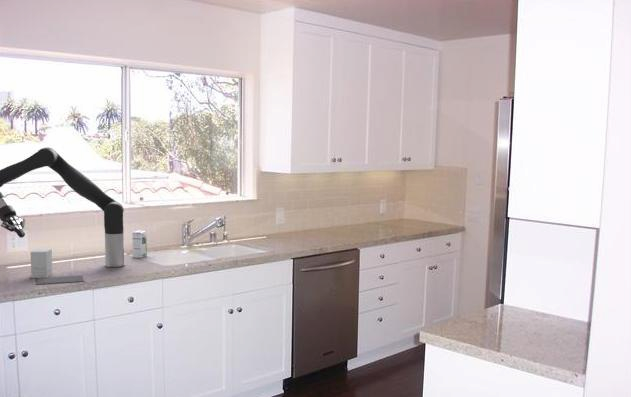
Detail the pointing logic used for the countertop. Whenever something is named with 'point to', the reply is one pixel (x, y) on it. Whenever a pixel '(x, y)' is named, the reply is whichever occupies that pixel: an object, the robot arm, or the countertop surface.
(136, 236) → the syrup box
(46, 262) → the supplement box
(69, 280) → the rubber mat
